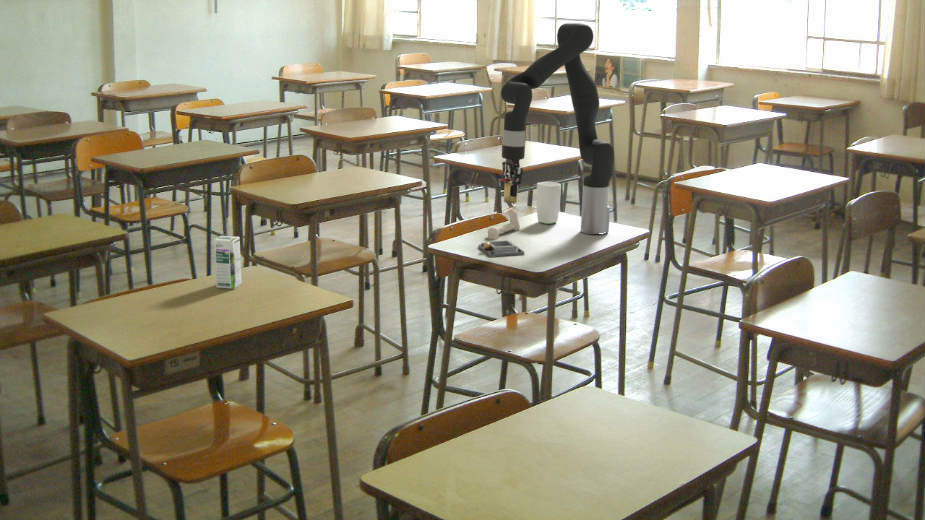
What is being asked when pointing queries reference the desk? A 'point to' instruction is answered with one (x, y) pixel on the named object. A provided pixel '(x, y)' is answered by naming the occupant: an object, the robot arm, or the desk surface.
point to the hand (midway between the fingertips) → (510, 194)
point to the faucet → (513, 225)
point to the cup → (548, 202)
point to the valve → (508, 192)
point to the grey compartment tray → (500, 248)
